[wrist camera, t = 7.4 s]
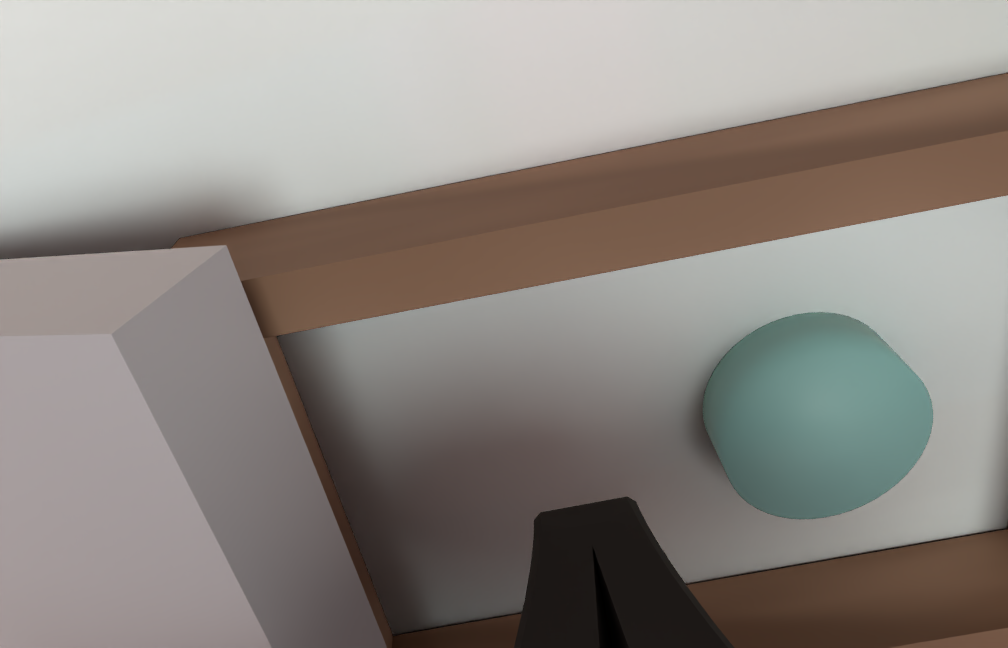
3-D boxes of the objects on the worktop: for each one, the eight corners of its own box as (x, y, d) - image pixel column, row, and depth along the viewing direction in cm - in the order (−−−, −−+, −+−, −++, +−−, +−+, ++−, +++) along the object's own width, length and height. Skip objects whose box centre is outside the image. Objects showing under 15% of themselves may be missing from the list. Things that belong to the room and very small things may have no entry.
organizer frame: (1043, 551, 15) (1121, 638, 13) (364, 668, 16) (352, 766, 14) (1157, 43, 10) (1301, 72, 8) (179, 238, 11) (126, 303, 9)
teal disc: (883, 445, 14) (924, 499, 12) (705, 478, 14) (729, 534, 13) (893, 289, 12) (941, 333, 11) (693, 328, 12) (718, 375, 11)
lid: (450, 806, 14) (412, 924, 12) (101, 735, 16) (35, 825, 15) (226, 245, 8) (111, 334, 7) (-242, 275, 11) (-399, 344, 9)
